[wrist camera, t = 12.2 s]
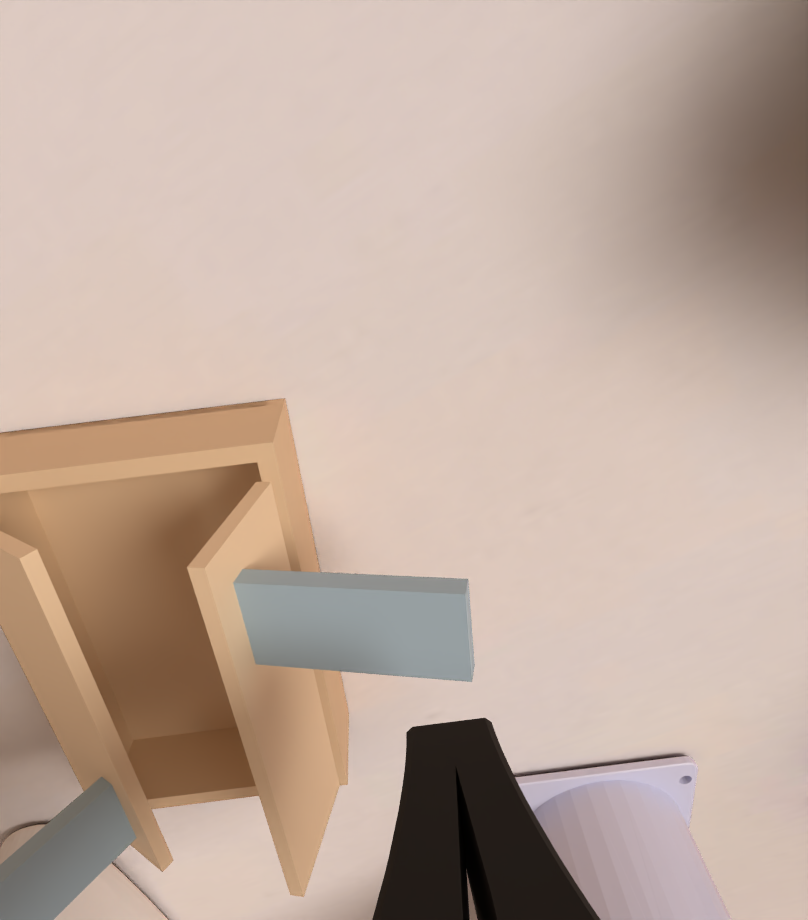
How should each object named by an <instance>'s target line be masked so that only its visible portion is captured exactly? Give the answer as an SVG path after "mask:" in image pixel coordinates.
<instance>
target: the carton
mask: <svg viewBox="0 0 808 920" xmlns="http://www.w3.org/2000/svg"><path fill="white" fill-rule="evenodd" d="M256 482H271V484H272V489H273V493H274V498H275V502H276V506H277V511H278V515H279V520H280V524H281V528H282V533H283V537H284V542H285V546H286V550H287V555H288V559H289V564H290V568H291V571H300V572H320V569H319V564H318V559H317V554H316V549H315V544H314V539H313V534H312V529H311V524H310V519H309V514H308V509H307V504H306V499H305V494H304V489H303V484H302V480H301V475H300V470H299V465H298V460H297V455H296V450H295V445H294V440H293V435H292V430H291V425H290V420H289V415H288V410H287V405H286V400H285V399H276V400H268V401H260V402H252V403H243V404H235V405H227V406H219V407H210V408H202V409H194V410H185V411H177V412H169V413H161V414H152V415H144V416H136V417H128V418H119V419H111V420H103V421H94V422H86V423H78V424H70V425H61V426H53V427H45V428H37V429H28V430H20V431H12V432H4V433H0V531H2V532H4V533H6V534H8V535H10V536H12V537H14V538H16V539H18V540H20V541H22V542H24V543H26V544H28V545H30V546H32V547H34V548H36V549H37V550H38V552H39V555H40V557H41V559H42V562H43V564H44V566H45V568H46V571H47V573H48V575H49V578H50V580H51V582H52V584H53V587H54V589H55V591H56V593H57V596H58V598H59V600H60V603H61V605H62V607H63V609H64V612H65V614H66V616H67V619H68V621H69V623H70V625H71V628H72V630H73V632H74V635H75V637H76V639H77V641H78V644H79V646H80V648H81V650H82V653H83V655H84V657H85V660H86V662H87V664H88V666H89V669H90V671H91V673H92V676H93V678H94V680H95V682H96V685H97V687H98V689H99V692H100V694H101V696H102V698H103V701H104V703H105V705H106V707H107V710H108V712H109V714H110V717H111V719H112V721H113V723H114V726H115V728H116V730H117V733H118V735H119V737H120V739H121V742H122V744H123V746H124V749H125V751H126V753H127V755H128V758H129V760H130V762H131V765H132V767H133V769H134V771H135V774H136V776H137V778H138V780H139V783H140V785H141V787H142V790H143V792H144V794H145V796H146V799H147V801H148V803H149V806H150V808H151V809H157V808H165V807H173V806H180V805H188V804H196V803H204V802H212V801H220V800H228V799H236V798H244V797H252V796H259V794H258V791H257V787H256V784H255V781H254V778H253V775H252V772H251V769H250V765H249V762H248V759H247V756H246V753H245V750H244V746H243V743H242V740H241V737H240V734H239V731H238V727H237V724H236V721H235V718H234V715H233V712H232V708H231V705H230V702H229V699H228V696H227V693H226V689H225V686H224V683H223V680H222V677H221V674H220V670H219V667H218V664H217V661H216V658H215V655H214V651H213V648H212V645H211V642H210V639H209V636H208V632H207V629H206V626H205V623H204V620H203V617H202V613H201V610H200V607H199V604H198V601H197V598H196V594H195V591H194V588H193V585H192V582H191V579H190V575H189V572H188V569H187V567H188V565H189V564H190V563H191V562H192V561H193V559H194V558H195V557H196V556H197V554H198V553H199V552H200V551H201V549H202V548H203V547H204V546H205V544H206V543H207V542H208V541H209V539H210V538H211V537H212V536H213V535H214V533H215V532H216V531H217V530H218V528H219V527H220V526H221V525H222V523H223V522H224V521H225V520H226V518H227V517H228V516H229V515H230V514H231V512H232V511H233V510H234V509H235V507H236V506H237V505H238V504H239V502H240V501H241V500H242V499H243V497H244V496H245V495H246V494H247V493H248V491H249V490H250V489H251V488H252V486H253V485H254V484H255V483H256ZM313 670H314V674H315V678H316V683H317V687H318V692H319V696H320V700H321V705H322V709H323V714H324V718H325V722H326V727H327V731H328V736H329V740H330V745H331V749H332V753H333V758H334V762H335V767H336V771H337V775H338V780H339V784H340V785H347V784H348V735H349V712H348V707H347V703H346V698H345V693H344V688H343V683H342V678H341V673H340V671H331V670H319V669H313Z"/></svg>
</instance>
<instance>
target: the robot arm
mask: <svg viewBox="0 0 808 920" xmlns="http://www.w3.org/2000/svg"><path fill="white" fill-rule="evenodd" d="M697 773H698V766H697V764H696V762H695V760H694V759H693V758H691V757H689V756H681V757H673V758H665V759H657V760H649V761H641V762H633V763H625V764H617V765H609V766H601V767H593V768H585V769H577V770H570V771H562V772H554V773H546V774H538V775H530V776H522V777H514V775H513V773H512V771H511V769H510V766H509V764H508V762H507V760H506V758H505V756H504V753H503V751H502V749H501V747H500V744H499V742H498V739H497V737H496V734H495V731H494V728H493V725H492V722H490V721H489V720H487V719H486V718H480V719H472V720H464V721H456V722H448V723H440V724H432V725H424V726H416V727H412V728H411V729H410V730H409V731H408V732H407V748H406V762H405V772H404V780H403V787H402V793H401V800H400V806H399V812H398V816H397V821H396V826H395V831H394V836H393V840H392V845H391V850H390V855H389V859H388V863H387V867H386V871H385V875H384V879H383V883H382V886H381V890H380V894H379V898H378V901H377V905H376V909H375V912H374V916H373V920H469V904H468V888H467V874H468V878H469V883H470V887H471V892H472V896H473V901H474V905H475V910H476V914H477V918H478V920H732V919H731V917H730V915H729V913H728V910H727V908H726V906H725V904H724V902H723V900H722V898H721V896H720V894H719V892H718V889H717V887H716V885H715V883H714V881H713V879H712V877H711V875H710V873H709V870H708V868H707V866H706V864H705V862H704V860H703V858H702V856H701V854H700V851H699V849H698V847H697V845H696V843H695V841H694V839H693V837H692V835H691V832H690V830H689V826H690V819H691V813H692V806H693V800H694V793H695V786H696V780H697ZM466 869H467V872H466Z"/></svg>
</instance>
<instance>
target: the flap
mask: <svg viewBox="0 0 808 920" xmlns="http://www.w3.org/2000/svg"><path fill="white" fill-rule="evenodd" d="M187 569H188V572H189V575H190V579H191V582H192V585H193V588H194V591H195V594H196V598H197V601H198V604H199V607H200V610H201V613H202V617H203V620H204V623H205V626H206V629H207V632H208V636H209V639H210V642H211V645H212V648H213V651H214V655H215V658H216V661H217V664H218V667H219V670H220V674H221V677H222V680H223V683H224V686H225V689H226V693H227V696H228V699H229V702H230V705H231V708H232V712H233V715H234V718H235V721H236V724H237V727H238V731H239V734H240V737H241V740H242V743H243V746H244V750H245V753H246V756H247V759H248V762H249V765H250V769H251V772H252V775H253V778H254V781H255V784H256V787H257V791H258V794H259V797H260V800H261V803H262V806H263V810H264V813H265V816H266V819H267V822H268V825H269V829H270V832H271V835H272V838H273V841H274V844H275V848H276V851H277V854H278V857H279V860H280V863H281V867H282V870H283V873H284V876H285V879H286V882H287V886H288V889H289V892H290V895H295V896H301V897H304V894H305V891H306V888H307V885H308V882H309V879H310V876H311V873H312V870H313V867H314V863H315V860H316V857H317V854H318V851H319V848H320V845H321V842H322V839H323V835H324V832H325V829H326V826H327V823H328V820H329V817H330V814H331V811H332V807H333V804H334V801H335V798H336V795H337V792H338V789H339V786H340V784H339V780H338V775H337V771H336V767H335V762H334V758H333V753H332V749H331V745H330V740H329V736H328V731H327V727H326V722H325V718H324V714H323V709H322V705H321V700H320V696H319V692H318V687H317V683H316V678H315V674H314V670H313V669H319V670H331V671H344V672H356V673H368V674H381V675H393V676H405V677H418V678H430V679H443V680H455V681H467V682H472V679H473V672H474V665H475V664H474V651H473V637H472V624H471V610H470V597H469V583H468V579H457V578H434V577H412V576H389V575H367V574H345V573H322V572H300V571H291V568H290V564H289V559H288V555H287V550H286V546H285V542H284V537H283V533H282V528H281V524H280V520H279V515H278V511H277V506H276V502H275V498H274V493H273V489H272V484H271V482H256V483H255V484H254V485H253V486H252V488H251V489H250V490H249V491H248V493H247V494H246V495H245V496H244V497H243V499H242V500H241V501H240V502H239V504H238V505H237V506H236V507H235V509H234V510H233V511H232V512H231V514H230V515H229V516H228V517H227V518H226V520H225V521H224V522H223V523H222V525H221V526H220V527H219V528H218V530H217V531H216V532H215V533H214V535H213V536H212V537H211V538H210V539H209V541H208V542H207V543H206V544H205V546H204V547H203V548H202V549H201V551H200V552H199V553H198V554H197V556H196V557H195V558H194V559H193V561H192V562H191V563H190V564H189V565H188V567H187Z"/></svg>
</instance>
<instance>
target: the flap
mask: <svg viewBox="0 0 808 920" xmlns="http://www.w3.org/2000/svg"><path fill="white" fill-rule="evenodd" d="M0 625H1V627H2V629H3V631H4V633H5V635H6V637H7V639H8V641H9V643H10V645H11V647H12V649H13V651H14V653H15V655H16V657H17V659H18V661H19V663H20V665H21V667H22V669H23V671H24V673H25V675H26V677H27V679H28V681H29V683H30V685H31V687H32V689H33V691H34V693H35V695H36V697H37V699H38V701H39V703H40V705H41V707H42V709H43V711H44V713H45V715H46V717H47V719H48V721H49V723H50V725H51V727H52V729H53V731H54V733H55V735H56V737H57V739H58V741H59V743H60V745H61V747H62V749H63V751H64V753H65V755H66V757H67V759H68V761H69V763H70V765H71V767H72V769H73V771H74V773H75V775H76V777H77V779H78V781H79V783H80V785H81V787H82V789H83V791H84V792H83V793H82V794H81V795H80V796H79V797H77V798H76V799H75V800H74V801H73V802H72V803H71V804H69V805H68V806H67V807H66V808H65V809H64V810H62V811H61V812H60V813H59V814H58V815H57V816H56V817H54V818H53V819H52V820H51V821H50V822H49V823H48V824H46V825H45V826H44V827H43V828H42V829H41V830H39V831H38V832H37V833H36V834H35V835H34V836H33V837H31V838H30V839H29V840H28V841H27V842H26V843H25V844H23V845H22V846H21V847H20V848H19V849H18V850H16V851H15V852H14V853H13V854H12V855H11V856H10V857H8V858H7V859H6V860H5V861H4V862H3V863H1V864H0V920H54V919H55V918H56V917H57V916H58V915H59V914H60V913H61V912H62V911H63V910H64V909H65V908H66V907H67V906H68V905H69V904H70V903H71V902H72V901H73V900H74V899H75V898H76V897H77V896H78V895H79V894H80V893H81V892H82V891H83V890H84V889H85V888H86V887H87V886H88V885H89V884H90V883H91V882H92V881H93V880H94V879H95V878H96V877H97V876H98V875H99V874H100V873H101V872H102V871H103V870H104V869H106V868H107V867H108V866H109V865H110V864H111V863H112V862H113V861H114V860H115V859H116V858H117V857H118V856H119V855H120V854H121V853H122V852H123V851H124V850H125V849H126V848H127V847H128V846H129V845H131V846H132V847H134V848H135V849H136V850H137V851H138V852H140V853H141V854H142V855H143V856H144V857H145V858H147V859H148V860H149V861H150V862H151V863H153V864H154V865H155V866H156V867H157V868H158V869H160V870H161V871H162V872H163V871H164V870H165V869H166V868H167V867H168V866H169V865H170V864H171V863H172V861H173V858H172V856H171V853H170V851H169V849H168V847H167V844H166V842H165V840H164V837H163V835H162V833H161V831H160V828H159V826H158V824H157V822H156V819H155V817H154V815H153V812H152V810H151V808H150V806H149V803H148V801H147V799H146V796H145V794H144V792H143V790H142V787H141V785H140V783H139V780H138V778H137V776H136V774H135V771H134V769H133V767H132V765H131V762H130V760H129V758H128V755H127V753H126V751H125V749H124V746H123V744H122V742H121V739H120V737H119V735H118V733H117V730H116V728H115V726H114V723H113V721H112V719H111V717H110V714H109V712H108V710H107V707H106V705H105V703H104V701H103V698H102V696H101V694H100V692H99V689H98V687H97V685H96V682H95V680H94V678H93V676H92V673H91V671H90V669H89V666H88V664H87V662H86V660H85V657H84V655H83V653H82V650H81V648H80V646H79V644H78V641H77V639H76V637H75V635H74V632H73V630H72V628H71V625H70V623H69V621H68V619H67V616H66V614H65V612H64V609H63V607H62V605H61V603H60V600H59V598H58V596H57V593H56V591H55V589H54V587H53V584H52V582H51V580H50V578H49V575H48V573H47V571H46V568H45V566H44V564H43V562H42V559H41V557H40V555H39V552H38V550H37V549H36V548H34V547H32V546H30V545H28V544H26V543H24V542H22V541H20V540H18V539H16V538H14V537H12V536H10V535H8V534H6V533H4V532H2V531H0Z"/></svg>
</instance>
